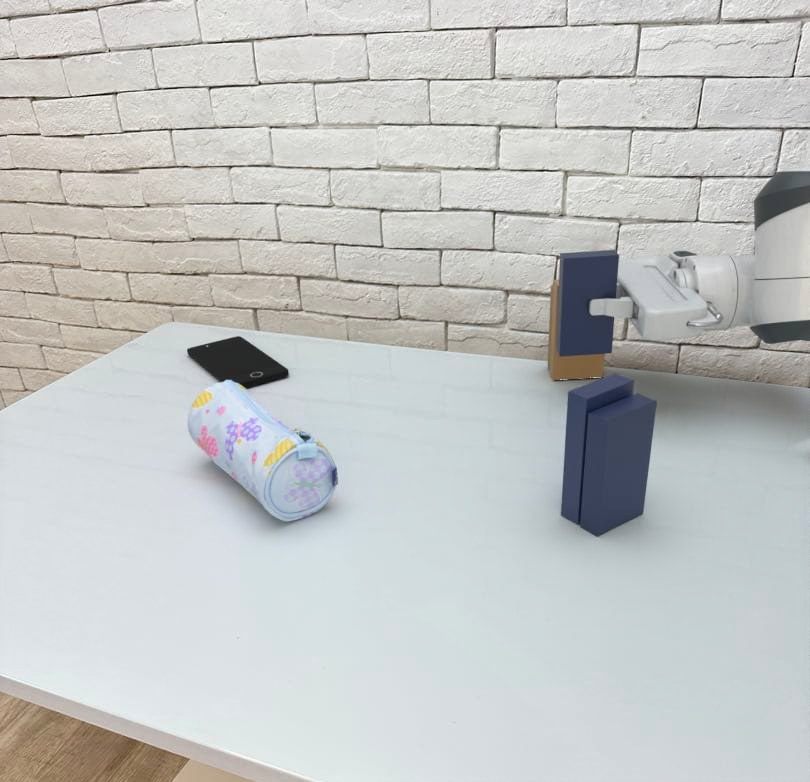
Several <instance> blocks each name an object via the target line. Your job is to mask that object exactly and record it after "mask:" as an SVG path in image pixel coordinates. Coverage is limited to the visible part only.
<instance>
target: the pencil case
mask: <svg viewBox="0 0 810 782" xmlns="http://www.w3.org/2000/svg"><path fill="white" fill-rule="evenodd" d="M187 429H188V433H189V436H190V438H191V439H192V441H193V442H194V443H195V445H197V447H198V448H199V449H201V450H202V451H203V452H204V453H205V454H206V455H207V456H208V457H209V459H211V460H212V461H213V462H214V464H216V465H217V466H218V467H219V468H220V469H221V470H223V471H224V472H225V473H227V474H228V475H229V476H230V477H231V478H232V479H233V480H234V481H236V482H237V483H238V484H239V485H240V486H242V487H243V489H245V490H246V492H248V493H249V494H250V495H251V496H253V497H254V498H255V499H256V500H257V502H259V503H260V504H261V505H262V506H263V508H264V509H265V511H266V512H268V513H269V514H270V515H271V516H273V517H274V518H276V519H279V520H280V521H282V522H293V521H296V520H300V519H303V518H306V517H309V516H311V515H313V514H315V513H317V512H319V511H320V510H321V509H322V508H323V507H325V506H326V505H327V504H328V503H329V501H330V500H331V498H332V497H333V495H334V493H335V490H336V488H337V485H339V475H338V468H337V466H336V464H335V461H334V458H333V456H332V455H331V453H330V452H329V450H328V448H326V446H325V445H324V444H323V443H322V442H321V441H320V440H319V439H318V438H315V437H314V435H313V434H312V433H311V432H308V431H305V430H302V429H300V428H299V427H297V426H294V427H293V428H292V429H290V428H289V427H288V426H287V425H285V424H284V423H283V422H282V421H281V420H279V419H278V418H277V417H276V416H275V415H274V414H273V413H272V412H271V411H270V410H269V409H268V408H266V407H265V406H263V404H261V402H259V401H258V399H256V398H254V397H253V396H252V394H251V393H250V392H249V390H248V389H247V388H244V387H243V386H242V385H240V384H239V383H235V382H233V381H232V380H225V381H224V382H221V381H220V382H215V383H214V384H212V385H209V386H207V387H205V388H204V389H202V390H200V392H198V394H197V395H196V396H195V397H194V399H193V401H192V403H191V405H190V408H189V410H188V415H187Z"/></svg>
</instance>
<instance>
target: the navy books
mask: <svg viewBox="0 0 810 782" xmlns="http://www.w3.org/2000/svg"><path fill="white" fill-rule="evenodd" d="M634 387H635V379H631V378H629V377H627V376H623V375H621V374H618V373H616V372H615V373H612V374H610V375H608V376H604V377H603V378H598V379H596V380H594V381H591V382H589V383H587V384H583V385H581V386H578V387H577V388H574V389H570V390H568V391H567V403H566V405H567V406H566V419H565V421H566V422H565V438H564V452H563V453H564V454H563V469H562V471H563V473H562V487H561V488H562V490H561V507H560V515H561V516H562V517H564V518H565V519H567V520H569V521H571V522H573V523H575V524H576V525H579V527H580V528H582V529H583V530H585V531H587V532H588V533H590V534H592V535H594V536H595V537H599V536H602V535H604V534H605V533H606V534H607V532H609V531H611V530H612V531H613V530H614V529H615V528H619V526H622V525H623V524H625V523H627V522H630V521H632V520H634V519H635V518H638V517H639V516H641V515H643V514H644V510H645V502H646V493H647V485H648V479H649V471H650V461H651V453H652V444H653V436H654V429H655V420H656V413H657V404H658V401H657V400H656V399H653V398H651V397H649V396H646V395H643V394H640V393H634Z"/></svg>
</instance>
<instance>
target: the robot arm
mask: <svg viewBox="0 0 810 782" xmlns="http://www.w3.org/2000/svg"><path fill="white" fill-rule="evenodd" d="M753 218H754V219H753V221H754V232H755V240H754V243H755V244H754V254H753V255H750V256H737V255H733V254H717V255H711V254H697V253H694V252H691V251H688V250H685V249H675V250H670V251H669V252H668V256H667V255H647V256H646V255H645V256H636V257H630V258H629V257H628V258H621V259H619V264H618V277H617V290H616V299H610V298H604V297H603V296H602V297H591V298H590V299H589V300H588V310H589V312H590V314H591V315H593V316H594V315H606V316H612V317H614V318H616V319H617V318H618V319H628V320H629V321H630V323H631V324H632V326H633V327H634V328H635V330H636V331H637V332H638V334H639V335H640V336H641V338H642V339H644V340H646V341H651V342H660V341H672V340H678V339H680V340H681V339H687V338H693V337H697V336H701V335H702V334H703V333H704V332H716V331H718V332H719V331H727V330H731V329H734V328H738V327H749V329H750V331H751V332H752V333H753V334H754V335H755V336H757V337H758V339H760V340H761V341H763V342H764V343H765V344H768V345H774V344H775V345H776V344H781V343H787V342H795V341H796V342H797V341H805V342H810V164H804V165H803V164H802V165H796V166H792V167H788V168H786V169H784V170H782V171H777V172H776V173H775V174H773V176H772V177H770V179H769V180H768V181H767V182H766V183H765V184H764V186H763V187H762V188H761V189H760V190H759V192H758V194H757V195H756V197H755V198H754V199H753Z"/></svg>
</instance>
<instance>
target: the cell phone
mask: <svg viewBox="0 0 810 782" xmlns="http://www.w3.org/2000/svg"><path fill="white" fill-rule="evenodd" d="M186 353H187V355H188V356H190V357H191V358H192V359H193V360H194V361H196V362H197V363H198V364H199V365H201V366H202V367H203V368H204V369H205V370H207V372H209V373H211V375H213V376H214V377H215V378H216V379H217V380H219V381H220V382H224V381H225V380H232V381H233V382H235V383H239V384H240V385H242V386H243V387H244V388H246V389H247V388H250V387H255V386H257V385H261V384H265V383H268V382H272V381H277V380H280V379H283V378H286V377H288V376H289V374H290V373H289V369H288V368H287V367H285V366H284V365H282V364H281V362H278V361H277V360H275V359H274V358H272V356H270V355H269V354H267V353H266V352H264V351H263V350H261V349H259V348H258V347H257V346H256V345H254V344H252V343H251V342H250V341H248V340H247V339H245V338H244V337H242V336H241V335H237V336H232V337H229V338H224V339H221V340H216V341H212V342H208V343H204V344H200V345H195V346H191V347H188V348H187V349H186Z"/></svg>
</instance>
